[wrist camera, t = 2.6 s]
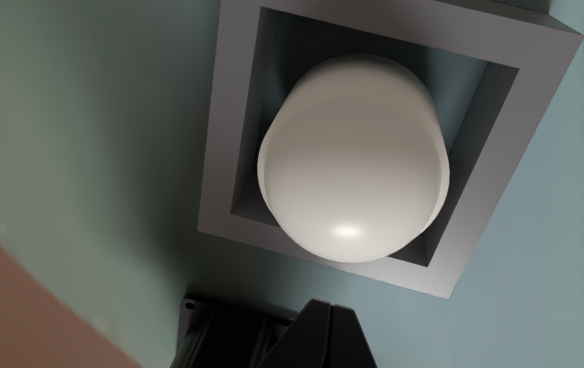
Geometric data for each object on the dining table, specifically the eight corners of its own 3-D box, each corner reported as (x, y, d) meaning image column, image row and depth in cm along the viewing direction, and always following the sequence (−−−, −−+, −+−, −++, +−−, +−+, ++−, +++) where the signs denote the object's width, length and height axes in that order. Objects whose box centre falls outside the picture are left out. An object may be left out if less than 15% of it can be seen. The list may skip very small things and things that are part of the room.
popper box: (439, 247, 20) (447, 299, 17) (222, 189, 21) (196, 230, 18) (549, 14, 15) (584, 36, 12) (254, -55, 16) (226, -49, 13)
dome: (408, 213, 18) (415, 328, 13) (269, 176, 18) (224, 275, 13) (463, 76, 15) (500, 156, 10) (297, 35, 15) (252, 93, 10)
